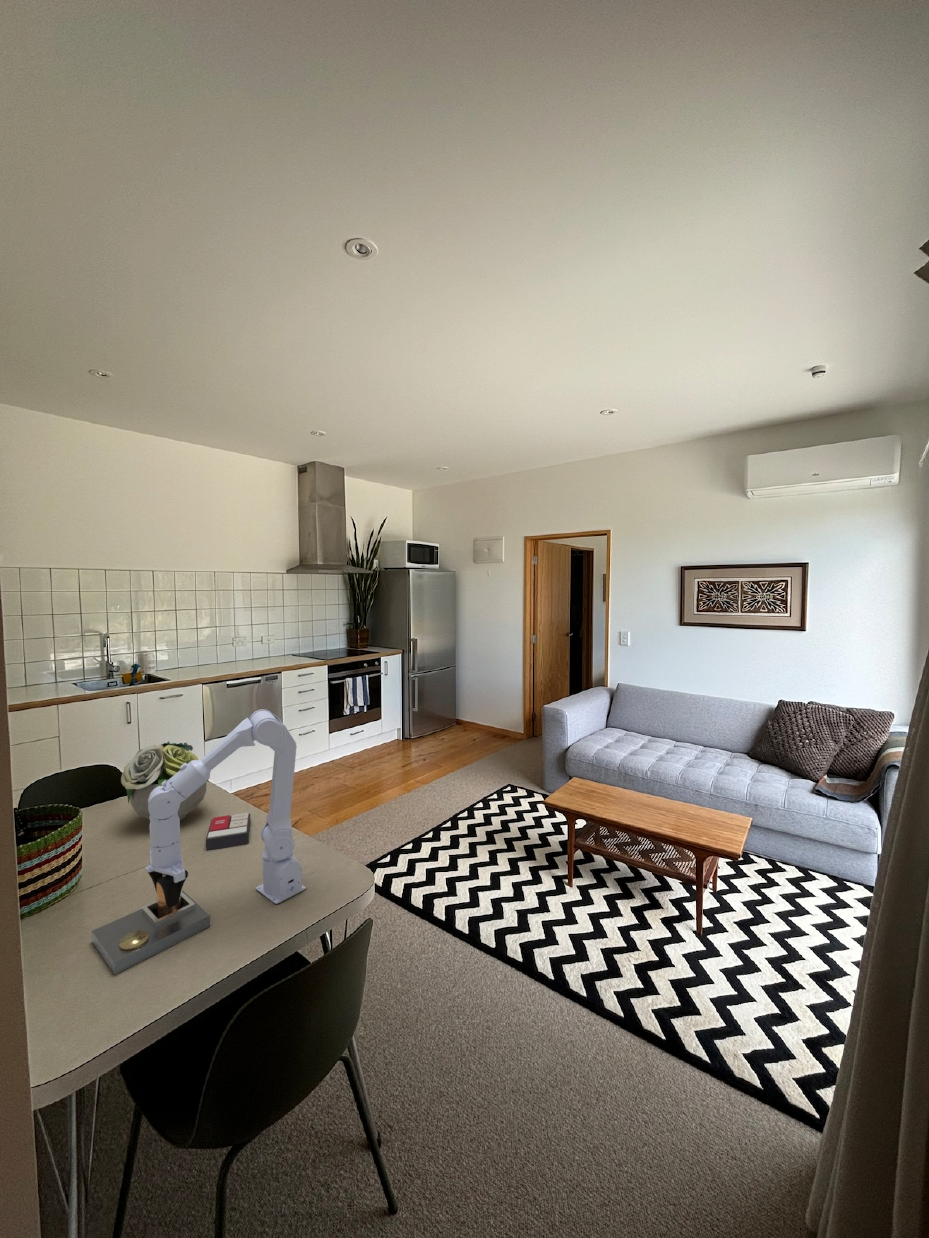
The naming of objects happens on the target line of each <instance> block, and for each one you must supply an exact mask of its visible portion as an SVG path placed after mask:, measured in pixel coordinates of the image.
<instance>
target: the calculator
mask: <svg viewBox="0 0 929 1238" xmlns="http://www.w3.org/2000/svg"><path fill="white" fill-rule="evenodd" d="M251 821H252V820H251V813H249V812H242V813H236V814H232V815H229V814H228V815H223V816H216V817H215V816H214V817H213V818H211V820H210V824H209V827H208V831H207V833H206V838H205V851H206V852H209V851H216V850H221V849H227V848H233V847H239V846H240V847H241V846H246V845H249V841H250V832H251V831H250V830H251V823H252V822H251Z"/></svg>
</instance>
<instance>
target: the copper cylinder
mask: <svg viewBox="0 0 929 1238" xmlns="http://www.w3.org/2000/svg"><path fill="white" fill-rule="evenodd" d="M164 876H167V874H164V873H162V877H164ZM156 884H157V893H156V900H157V909H158V919H160V918H162V917H164V916H166V915H168V914H170V913H172V912H175V911H177V910H179V909H181V894H180V899H179V903H178V904H176V905H174V906H172V907H170V908H168V907H167V905H166V901H165V896H164V892H163V889H162V887H161V885H160V884H159V883H158V881H157V883H156Z"/></svg>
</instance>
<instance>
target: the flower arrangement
mask: <svg viewBox="0 0 929 1238" xmlns="http://www.w3.org/2000/svg"><path fill="white" fill-rule="evenodd" d="M193 750H194V747H193V746H192V745H190V744H188V743H187V742H183V743H182V742H179V743H176V742H172V743H170V741H167V742H163V743H161V744H158V745H157V744H156V743H154V744H151V745H148V746H145V747H143V748H140V749H138V751H137V752H136V753H135V755H134V757H133V758H132V759H131V760H130V761H128V762H127V764H126V765H125V766H124V768H123V771H122V774H121V777H120V783H121V784H122V786H123V787H124V789H126V796H127V801H128V804H130V805H131V807H132V809H133V811H134V812H135V813H136V814H137V815H138V816H140V817H143V818H145V819H149V820H150V813H149V810H148V799H149V796H150V793H151V792H152V791H153V790H154V789H155V788H156V787H158V786H162V782H164V781H165V780H166V781H168V780H169V779H170V778H171V777H173V776H174V775H175V774H176V773H177V772H179V771H180V770H181V767H180V766H181V765H183V764H184V763H186V764H188V763H189V762H190V761H192V760H200V759H199V758H198V756H197V755H196V754H194V753H193V752H192V751H193ZM207 783H208V784H209V780H207V781H206V782H205V783H204V784H203V785H202V786H200V787H199V788H198V789H197V790H196V791H195V792H194V793H192V794H191V795H190V796H189V797H188V798H187V799H186V800H184V801H182V802H181V803H180V807H179V810H178V817H179V819H180V821H182V820H184V819H185V818H186V817H187V814H188V813H190V812H191V811H194V809H195V808H196V807H197V806H198V805H200V804H201V802H202V801H203V800H204V799H205V796H206V793H207Z"/></svg>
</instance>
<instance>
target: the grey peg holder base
mask: <svg viewBox="0 0 929 1238" xmlns="http://www.w3.org/2000/svg"><path fill="white" fill-rule="evenodd" d="M210 927H211V915H210V914H209V913H208V911H206V910H205V909H204V908H203V907H201V906H200V905H199V903H197V902H196V901H195V900H194V899H193V898H192V897H191V896H190V895H188V894H187V893H186V892H185V891H184V890H181V909H179V910H177V911H175V912H172V913H170V914H168V915H166V916H164V917H162V918H160V919H158V909H157V899H156V900H154V901H151V902H150V903H147V904H145V905H143V906H141V907H140V909H139V910H136V911H134V912H132V913H130V914H128V915H125V916H122V917H120V918H117V919H116V920H113V921H111V922H109V923H106V924H104V925H101V926H99V927H97V928H95V929H93V930H91V941H92V944H93V945H94V947H95V948H96V950H97V951H98V952H99V954H100V956H101V957H102V959H103V960H104V962H106V964H107V966H108V968H109V969H110V970H111V972H112V973H113V975H115V976H116V975H118V974H120V973H122V972H123V971H126V970H128V969H130V968H132V967H133V966H135V965H137V964H139V963H141V962H144V961H145V960H147V959H149V958H151V957H152V956H155V955H157V954H159V953H161V952H163V951H165V950H167V949H169V948H170V947H173V946H174V945H176V944H179V943H180V942H182V941H184V940H186V939H188V938H190V937H193V936H194V935H196V934H198V933H200V932H202V931H203V930H205V929H208V928H210Z"/></svg>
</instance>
